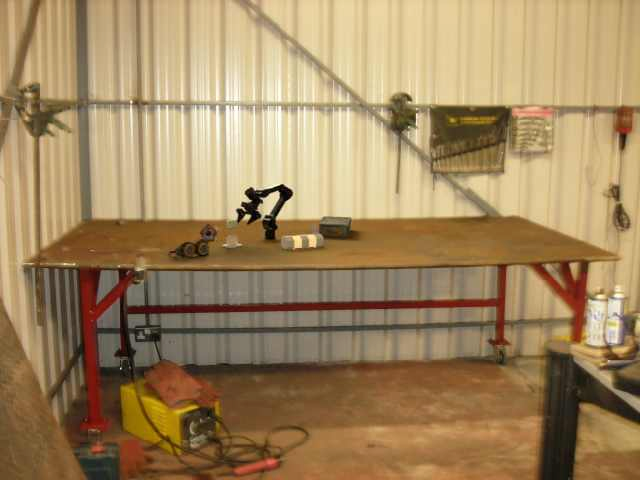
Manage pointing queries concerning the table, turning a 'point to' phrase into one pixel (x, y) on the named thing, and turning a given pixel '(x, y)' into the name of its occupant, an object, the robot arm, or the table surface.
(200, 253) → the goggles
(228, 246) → the cream stepped block
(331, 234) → the metal box
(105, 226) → the table surface
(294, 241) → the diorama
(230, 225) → the pale green block
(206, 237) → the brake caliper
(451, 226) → the table surface
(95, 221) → the table surface
